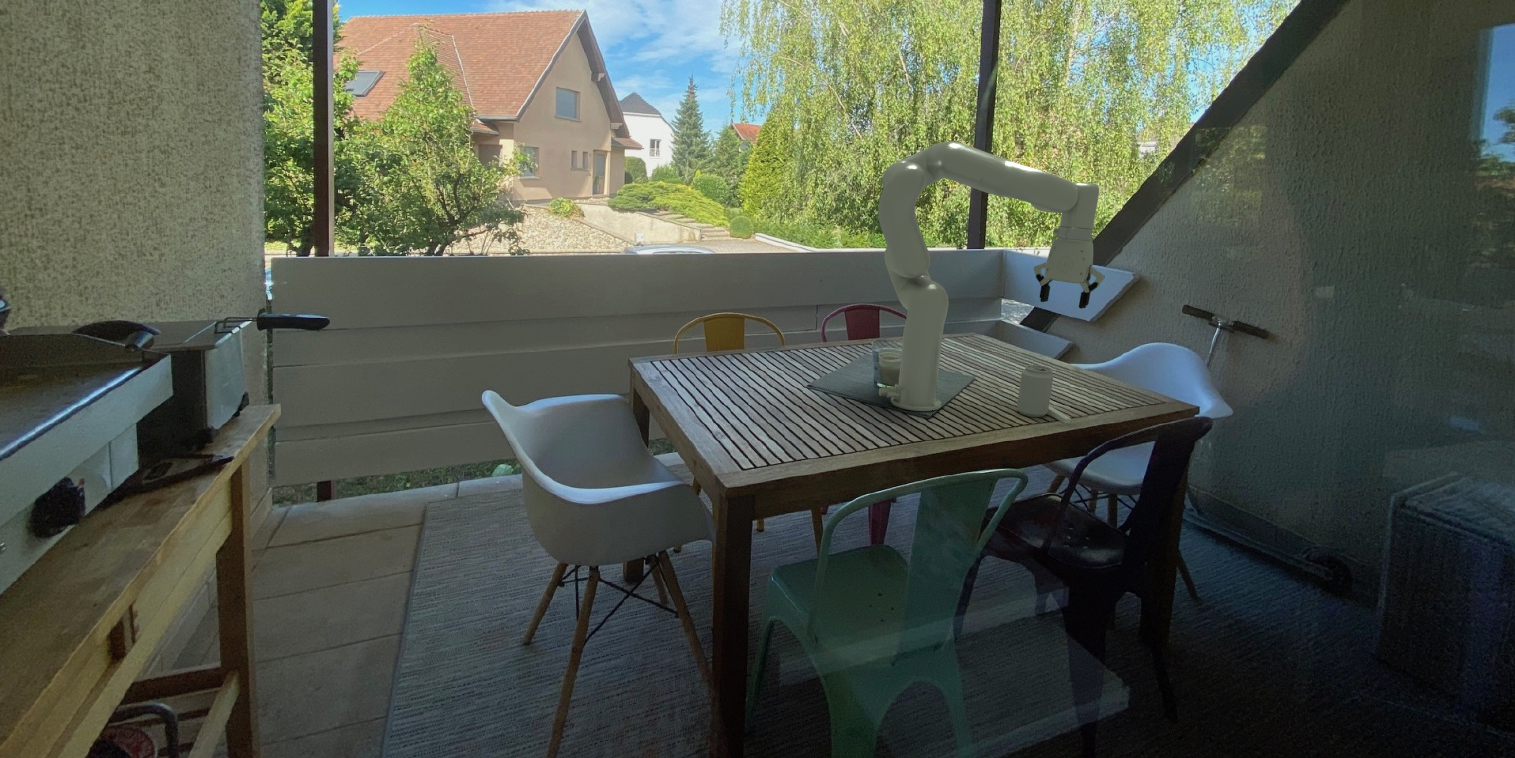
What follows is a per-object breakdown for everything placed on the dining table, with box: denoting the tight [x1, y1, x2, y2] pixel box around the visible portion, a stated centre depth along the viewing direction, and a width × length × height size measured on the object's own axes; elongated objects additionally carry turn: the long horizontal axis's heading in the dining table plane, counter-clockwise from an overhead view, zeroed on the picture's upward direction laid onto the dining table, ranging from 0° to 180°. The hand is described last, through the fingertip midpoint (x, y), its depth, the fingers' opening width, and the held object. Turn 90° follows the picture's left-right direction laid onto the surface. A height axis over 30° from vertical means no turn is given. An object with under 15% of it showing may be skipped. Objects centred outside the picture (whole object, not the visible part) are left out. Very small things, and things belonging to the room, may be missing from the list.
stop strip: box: [1047, 405, 1072, 425], centre depth 195 cm, size 2×18×1 cm, turn 8°
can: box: [1016, 364, 1054, 418], centre depth 192 cm, size 8×8×12 cm
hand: (1062, 304), depth 192 cm, fingers open, 9 cm apart
